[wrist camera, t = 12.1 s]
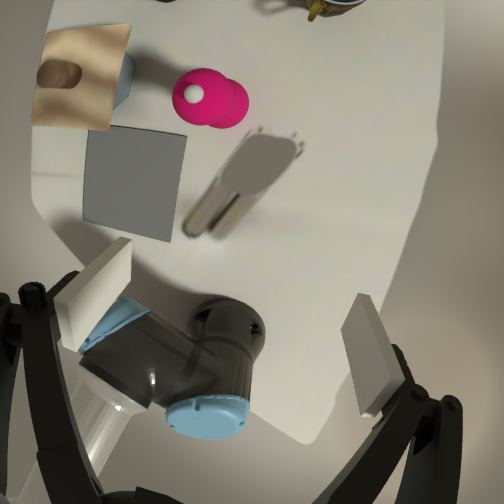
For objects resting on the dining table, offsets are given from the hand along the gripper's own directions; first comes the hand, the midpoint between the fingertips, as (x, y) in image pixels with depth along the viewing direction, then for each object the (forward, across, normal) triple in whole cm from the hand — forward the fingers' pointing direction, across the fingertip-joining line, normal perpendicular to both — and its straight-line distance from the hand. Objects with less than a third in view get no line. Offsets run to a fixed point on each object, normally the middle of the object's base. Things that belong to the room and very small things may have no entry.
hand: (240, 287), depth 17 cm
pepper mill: (+32, +8, -10) cm, 34 cm away
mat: (+32, +22, +5) cm, 39 cm away
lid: (+25, +31, -12) cm, 41 cm away
